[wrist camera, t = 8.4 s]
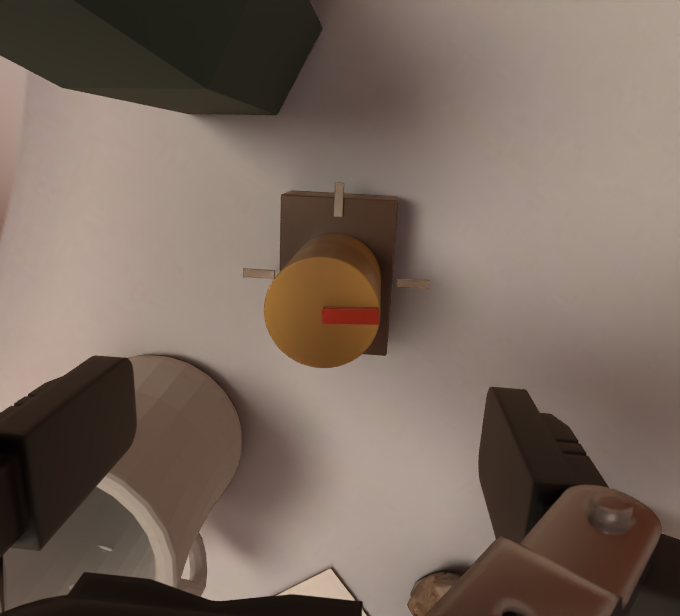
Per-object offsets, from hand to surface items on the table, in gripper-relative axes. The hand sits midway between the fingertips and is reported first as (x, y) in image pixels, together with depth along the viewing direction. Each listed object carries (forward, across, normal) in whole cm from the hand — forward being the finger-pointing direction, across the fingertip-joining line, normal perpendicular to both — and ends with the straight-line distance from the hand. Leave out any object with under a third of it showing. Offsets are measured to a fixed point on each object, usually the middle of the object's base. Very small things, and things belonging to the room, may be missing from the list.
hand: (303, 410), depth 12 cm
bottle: (+15, +6, -10) cm, 19 cm away
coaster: (+14, +1, +23) cm, 27 cm away
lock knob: (+12, 0, 0) cm, 12 cm away
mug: (+15, +9, +11) cm, 20 cm away
